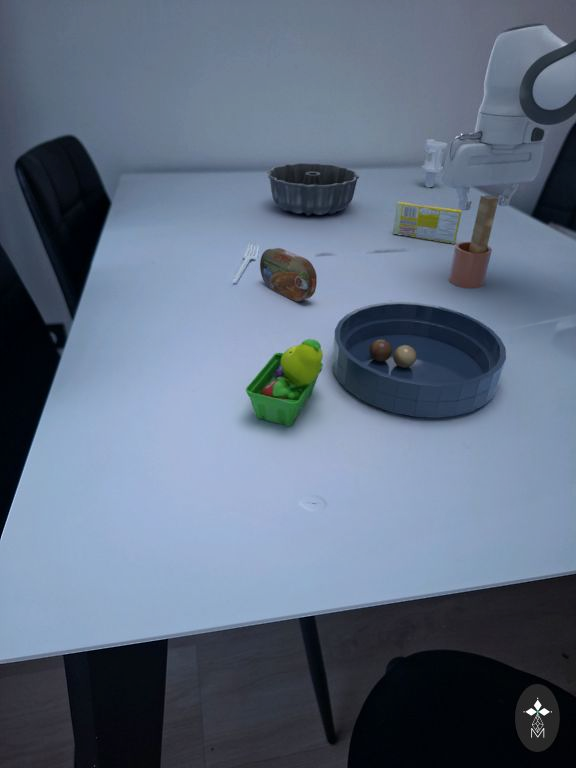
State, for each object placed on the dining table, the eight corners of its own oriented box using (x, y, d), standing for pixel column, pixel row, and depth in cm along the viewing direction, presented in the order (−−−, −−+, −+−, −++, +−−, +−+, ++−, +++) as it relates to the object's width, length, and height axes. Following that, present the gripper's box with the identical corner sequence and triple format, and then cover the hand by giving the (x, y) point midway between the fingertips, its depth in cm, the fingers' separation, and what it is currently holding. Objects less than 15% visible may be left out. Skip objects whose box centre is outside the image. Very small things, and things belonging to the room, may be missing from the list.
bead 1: (397, 339, 84) (379, 334, 87) (383, 345, 82) (365, 340, 84) (395, 360, 86) (377, 355, 88) (382, 367, 84) (364, 361, 86)
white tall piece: (415, 184, 185) (422, 137, 176) (434, 184, 186) (442, 137, 178) (423, 189, 179) (431, 141, 171) (442, 189, 180) (451, 141, 172)
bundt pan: (329, 227, 144) (332, 189, 138) (249, 210, 155) (249, 174, 149) (370, 205, 162) (373, 170, 157) (296, 191, 174) (297, 159, 168)
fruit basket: (275, 379, 82) (276, 313, 76) (330, 392, 79) (336, 325, 73) (244, 421, 73) (242, 350, 67) (304, 437, 71) (308, 365, 64)
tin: (258, 283, 112) (258, 244, 107) (270, 279, 114) (270, 241, 109) (306, 308, 103) (308, 266, 98) (318, 303, 104) (320, 262, 100)
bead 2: (419, 344, 84) (407, 360, 87) (399, 337, 84) (387, 353, 86) (422, 359, 82) (410, 375, 84) (401, 352, 81) (390, 368, 83)
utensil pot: (468, 275, 118) (476, 240, 114) (490, 288, 113) (499, 251, 108) (441, 279, 116) (448, 244, 111) (462, 292, 110) (470, 255, 106)
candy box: (456, 242, 136) (462, 209, 131) (454, 244, 135) (461, 211, 130) (394, 232, 142) (398, 200, 137) (392, 234, 140) (396, 202, 135)
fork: (226, 284, 111) (226, 275, 110) (247, 251, 128) (247, 243, 127) (241, 285, 111) (241, 277, 110) (260, 252, 127) (260, 244, 126)
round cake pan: (433, 323, 99) (439, 293, 95) (532, 399, 79) (544, 365, 76) (307, 346, 91) (308, 314, 87) (382, 437, 71) (388, 401, 68)
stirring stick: (470, 280, 114) (490, 194, 104) (478, 285, 112) (499, 198, 102) (461, 282, 113) (480, 195, 103) (468, 286, 111) (488, 199, 101)
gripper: (463, 136, 91) (449, 217, 99) (555, 131, 98) (535, 207, 106) (442, 130, 96) (429, 207, 104) (531, 125, 103) (513, 199, 110)
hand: (483, 207), depth 105 cm, fingers open, 8 cm apart
